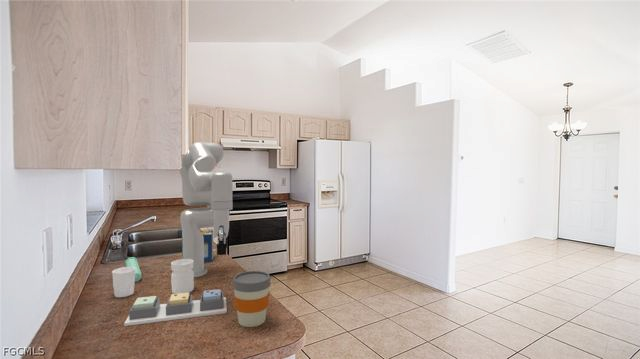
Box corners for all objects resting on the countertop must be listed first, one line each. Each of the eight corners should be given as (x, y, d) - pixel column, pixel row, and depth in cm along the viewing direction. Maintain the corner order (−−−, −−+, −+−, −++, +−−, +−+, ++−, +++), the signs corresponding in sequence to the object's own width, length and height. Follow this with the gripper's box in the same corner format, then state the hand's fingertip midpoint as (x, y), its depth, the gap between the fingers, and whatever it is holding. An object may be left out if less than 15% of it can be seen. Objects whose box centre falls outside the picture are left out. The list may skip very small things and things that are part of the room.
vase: (195, 285, 139) (195, 258, 138) (192, 293, 130) (192, 264, 130) (173, 286, 137) (173, 259, 136) (169, 295, 128) (168, 265, 128)
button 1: (137, 304, 112) (137, 297, 112) (156, 302, 114) (156, 295, 114) (133, 312, 106) (133, 304, 106) (153, 309, 108) (153, 302, 108)
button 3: (203, 297, 119) (203, 290, 119) (220, 295, 121) (220, 288, 121) (203, 304, 113) (203, 296, 113) (220, 301, 115) (220, 294, 115)
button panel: (133, 310, 114) (133, 299, 114) (225, 299, 124) (225, 289, 124) (124, 326, 103) (124, 314, 103) (226, 312, 113) (226, 301, 113)
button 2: (171, 300, 115) (171, 294, 115) (189, 298, 117) (189, 292, 117) (169, 307, 110) (169, 300, 110) (188, 305, 112) (188, 298, 112)
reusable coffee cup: (238, 333, 99) (238, 286, 99) (229, 316, 110) (228, 274, 110) (275, 324, 105) (276, 279, 105) (263, 309, 116) (263, 268, 116)
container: (139, 268, 142) (135, 254, 162) (125, 276, 139) (122, 260, 159) (145, 279, 143) (140, 264, 164) (131, 287, 140) (127, 270, 161)
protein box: (185, 258, 179) (184, 231, 178) (213, 256, 182) (213, 230, 182) (181, 263, 168) (181, 235, 168) (212, 262, 172) (211, 233, 172)
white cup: (117, 291, 131) (117, 267, 131) (138, 289, 133) (138, 266, 133) (109, 298, 124) (108, 273, 123) (131, 297, 125) (130, 272, 125)
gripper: (213, 203, 125) (213, 246, 126) (209, 208, 108) (209, 258, 109) (232, 203, 127) (233, 245, 127) (231, 208, 110) (232, 256, 111)
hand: (222, 251), depth 118 cm, fingers open, 9 cm apart
